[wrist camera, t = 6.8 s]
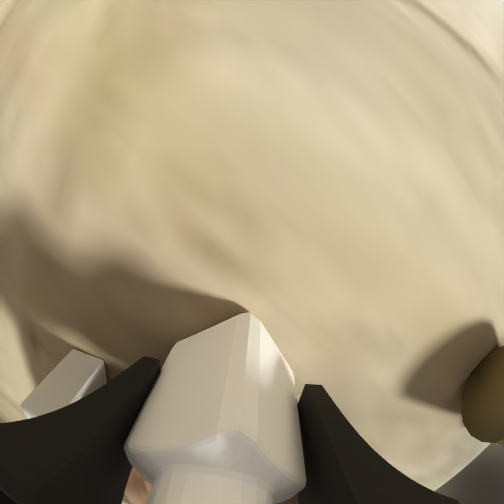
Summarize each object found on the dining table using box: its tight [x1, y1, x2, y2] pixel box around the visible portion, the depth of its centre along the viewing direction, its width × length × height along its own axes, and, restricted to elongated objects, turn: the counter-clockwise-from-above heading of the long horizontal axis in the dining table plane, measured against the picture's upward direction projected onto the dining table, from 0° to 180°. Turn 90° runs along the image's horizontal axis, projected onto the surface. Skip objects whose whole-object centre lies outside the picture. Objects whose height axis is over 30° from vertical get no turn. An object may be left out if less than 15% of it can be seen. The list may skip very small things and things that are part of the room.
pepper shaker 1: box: [124, 312, 306, 504], centre depth 6 cm, size 4×4×10 cm
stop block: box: [21, 349, 108, 419], centre depth 11 cm, size 12×2×5 cm, turn 171°
